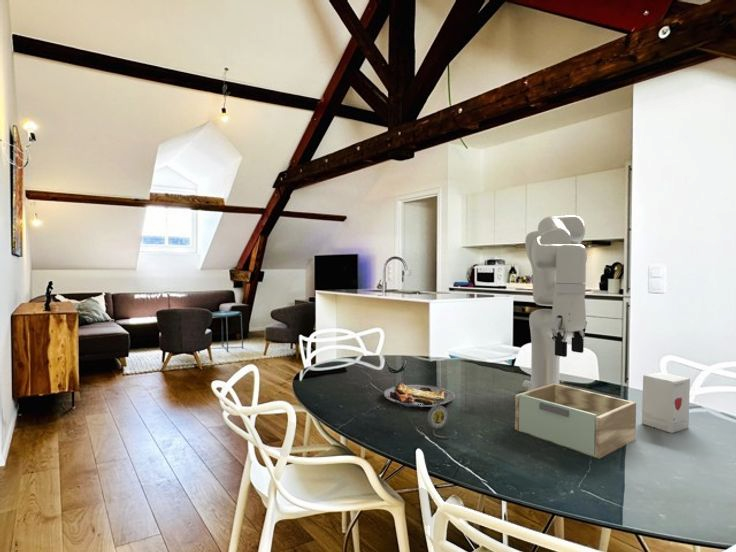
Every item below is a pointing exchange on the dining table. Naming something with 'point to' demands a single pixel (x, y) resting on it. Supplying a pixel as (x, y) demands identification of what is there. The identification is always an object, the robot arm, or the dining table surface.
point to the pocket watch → (436, 413)
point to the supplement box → (666, 401)
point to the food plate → (418, 395)
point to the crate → (611, 413)
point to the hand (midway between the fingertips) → (569, 353)
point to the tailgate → (558, 423)
